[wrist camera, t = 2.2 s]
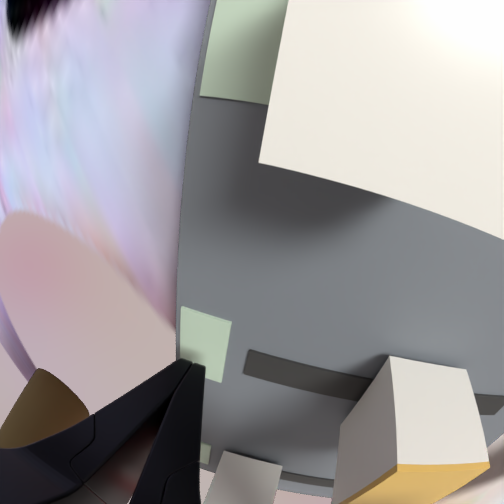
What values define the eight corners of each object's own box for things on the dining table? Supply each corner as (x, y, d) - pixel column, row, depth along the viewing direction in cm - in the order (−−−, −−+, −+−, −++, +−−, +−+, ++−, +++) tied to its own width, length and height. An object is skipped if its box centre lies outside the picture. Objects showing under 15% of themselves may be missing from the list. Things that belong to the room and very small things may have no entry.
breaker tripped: (466, 369, 7) (490, 467, 4) (407, 433, 9) (409, 515, 6) (389, 355, 8) (397, 471, 5) (340, 425, 10) (329, 513, 6)
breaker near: (462, 12, 4) (546, -39, 1) (431, 175, 5) (514, 243, 2) (327, -32, 4) (316, -132, 1) (296, 134, 6) (258, 162, 3)
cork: (28, 369, 20) (-37, 446, 11) (51, 366, 18) (-28, 464, 8) (70, 415, 22) (15, 493, 13) (101, 420, 20) (38, 517, 10)
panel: (629, 151, 3) (652, 161, 2) (407, 484, 15) (407, 502, 13) (243, -41, 5) (225, -65, 4) (188, 443, 17) (180, 462, 16)
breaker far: (282, 465, 12) (267, 525, 9) (266, 486, 14) (252, 534, 11) (223, 450, 13) (201, 508, 10) (217, 473, 15) (199, 520, 12)
